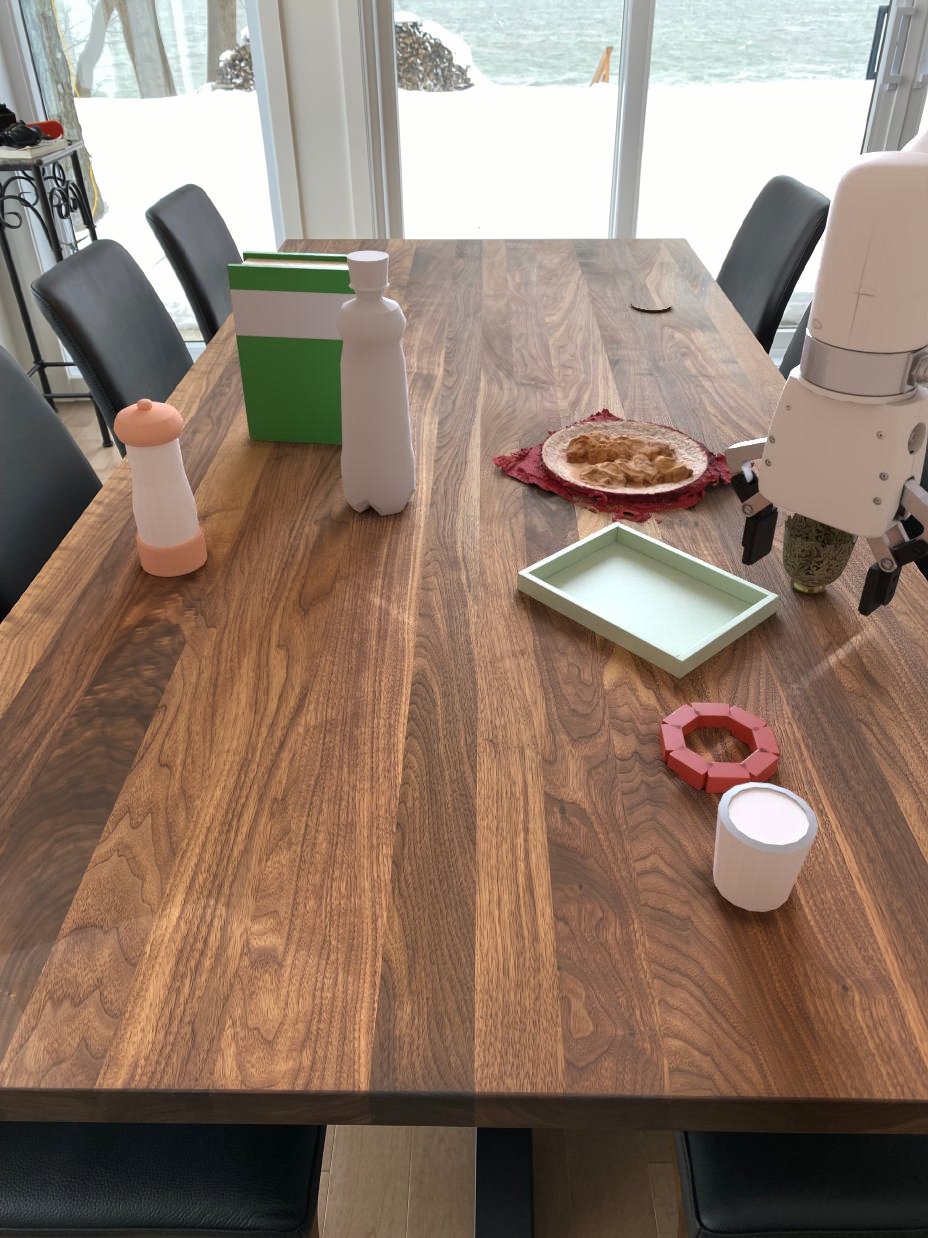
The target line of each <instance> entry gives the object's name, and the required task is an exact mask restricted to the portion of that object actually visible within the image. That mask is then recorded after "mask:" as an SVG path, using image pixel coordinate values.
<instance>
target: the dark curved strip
mask: <svg viewBox="0 0 928 1238" xmlns="http://www.w3.org/2000/svg"><path fill="white" fill-rule="evenodd" d="M631 307H632V308H634V309H636V310H638V311H644V312H663V311H667V310H669V309H668V308H667V309H663V310H645V309H640V308H636V307H634V306H631Z"/></svg>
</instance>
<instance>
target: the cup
mask: <svg viewBox="0 0 928 1238" xmlns="http://www.w3.org/2000/svg"><path fill="white" fill-rule="evenodd" d="M783 522H784V528H783V538H782V539H783V540H782V553H781V554H782V557H781V558H782V565H783V568H784V571H785V572H786V574H787V575H788V577H790V578H791V579H790V581H789V583H790V587H791V589H792V591H795V592H796V593H798V594H801V595H803V596H808V597H809V596H811V597H813V596H820V595H822V594H823V593H824V592H825V591H826V589H827V586H828V585H830V584H832V583H834V582H836V581H837V580H838V579H839V578H840V577H841V576H842V574H843V573H844V571H845V569H846V567H847V565H848V563H849V561H850V558H851V556H852V553H853V551H854V549H855V546H856V544H857V541H858V539H859V536H856V535H853V534H851V533H848V532H845V531H842V530H840V529H837V528H834V527H832V526H829V525H826V524H824V523H821V522H818V521H816V520H813V519H810V518H808V517H805V516H803V515H800V514H797V513H795V512H794V514H793V515H791V514H789V515H788V516H787V519H784V521H783Z"/></svg>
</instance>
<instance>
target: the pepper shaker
mask: <svg viewBox="0 0 928 1238" xmlns="http://www.w3.org/2000/svg"><path fill="white" fill-rule="evenodd" d="M113 421H114V422H113V432H114V434H115V436H116V437H117V439H118V440H119V441H120V442H121V444H124V446H125V453H126V456H127V461H128V466H129V472H130V476H131V496H132V500H131V501H132V513H133V517H134V521H135V525H136V529H137V534H136V540H135V542H136V546H137V551H138V556H139V561H140V566H141V567H142V569H143V571H144V572H146V573H147V574H149V575H153V576H156V577H166V578H170V577H179V576H180V577H181V576H183V575H187V574H190V573H193V572H195V571H196V570H198V569H200V568H201V567H203V566H204V565H205V563H206V561H207V559H208V551H207V547H206V540H205V535H204V529H203V528H202V526H201V525H200V523H199V519H198V513H197V512H198V511H197V503H196V500H195V496H194V494H193V491H192V488H191V485H190V482H189V479H188V477H187V474H186V471H185V467H184V461H183V456H182V451H181V446H180V440H179V437H180V436H181V435H182V434H183V433H182V432H183V428H184V419H183V417H182V414H181V413H180V412H179V410H177V408H175V407H174V406H173V405H171V404H168V403H164V402H159V401H152V400H151V399H148V398H142V399H140V400H138V401H137V403H134V404H133V403H132V404H131V405H129V406H127V407H124V408H123V409H121V410H120V411H119V412H118V413H117V414H116V417H115V418H114V420H113Z"/></svg>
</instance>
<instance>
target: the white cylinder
mask: <svg viewBox="0 0 928 1238" xmlns="http://www.w3.org/2000/svg"><path fill="white" fill-rule="evenodd" d="M815 813H816V812H815V811H814V810H813V809H812V808H811V807H810V805H809V804H808V803H807V802H806V800H805V799H803V798H802V797H800V796H799V795H797V794H795V793H794V792H792V791H791V790H789V789H787V788H785V787H782V786H779V785H775V784H773V783H768V782H764V783H755V782H750V783H746V784H741V785H737V786H734V787H733V788H732V789H730V790H729V791H727V792H726V793H722V797H721V799H720V801H719V804H718V805H717V815H716V816H717V817H716V831H715V840H714V841H715V842H714V844H715V845H714V853H713V854H714V855H713V864H712V865H713V867H712V876H713V882H714V883H713V884H714V886H715V887H716V889H717V890H718V892H719V894H720V895H721V896H722V897H723V898H724V899H726V900H727V901H728V902H730V903H731V904H732V905H734V906H736V907H738V908H740V909H744V910H746V911H748V912H758V913H759V912H760V913H767V912H770V911H773V910H777V909H779V908H780V907H781V906H783V905H784V904H785V903H786V902H787V901H788V899H789V897H790V895H791V892H792V890H793V888H794V885H795V883H796V881H797V879H798V877H799V875H800V872H801V870H802V868H803V866H804V864H805V862H806V859H807V857H808V855H809V852H810V850H811V848H812V847H813V844H814V841H815V838H816V836H817V832H818V829H819V824H818V821H817V816H816V814H815Z"/></svg>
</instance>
